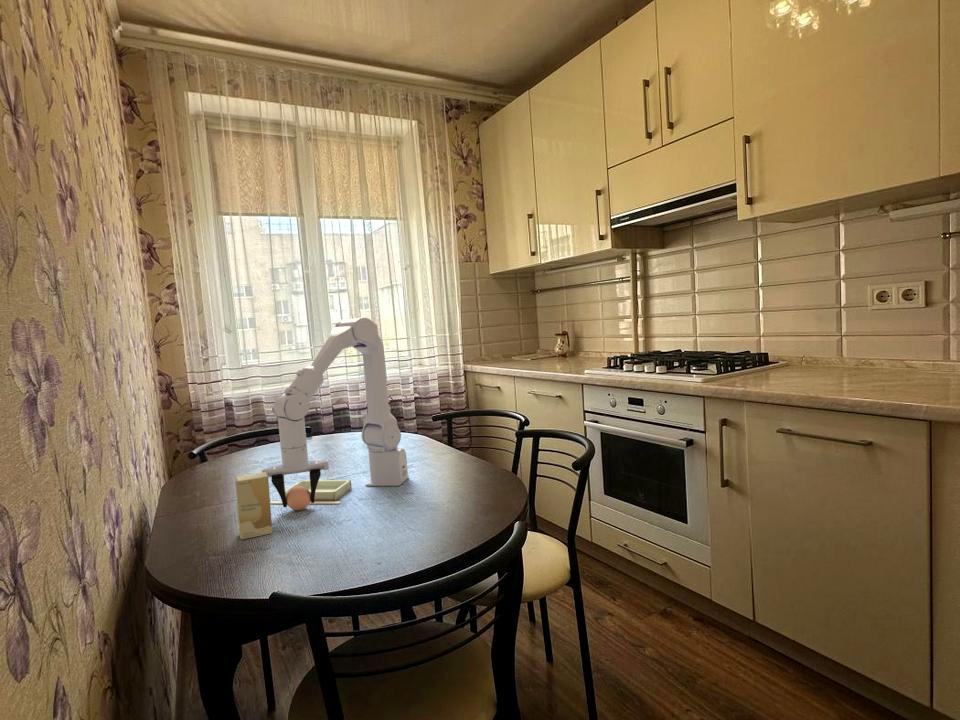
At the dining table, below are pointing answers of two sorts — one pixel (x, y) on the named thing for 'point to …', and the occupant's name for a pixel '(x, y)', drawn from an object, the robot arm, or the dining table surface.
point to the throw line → (311, 503)
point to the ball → (298, 498)
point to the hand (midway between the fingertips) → (299, 503)
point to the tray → (326, 489)
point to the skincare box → (253, 505)
